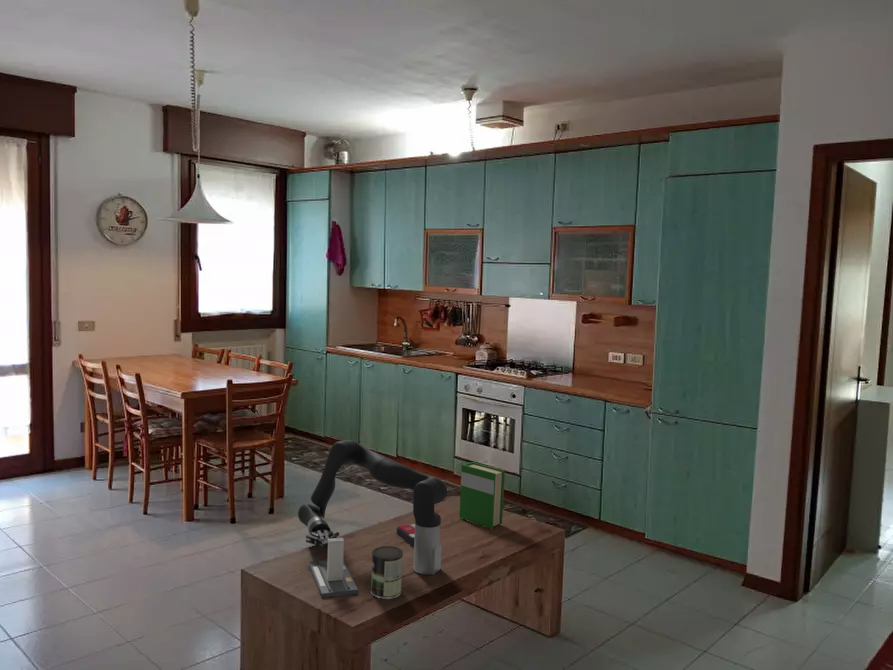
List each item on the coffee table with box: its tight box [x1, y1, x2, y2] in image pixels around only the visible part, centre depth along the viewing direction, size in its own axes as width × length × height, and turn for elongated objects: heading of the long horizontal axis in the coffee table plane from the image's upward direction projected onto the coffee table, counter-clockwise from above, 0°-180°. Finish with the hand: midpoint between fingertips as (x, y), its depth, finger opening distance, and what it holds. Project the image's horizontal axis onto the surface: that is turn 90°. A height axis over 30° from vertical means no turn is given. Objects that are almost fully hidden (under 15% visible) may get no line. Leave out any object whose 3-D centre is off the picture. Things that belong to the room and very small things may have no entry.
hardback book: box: [459, 461, 506, 529], centre depth 313 cm, size 18×7×24 cm, turn 49°
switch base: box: [308, 559, 359, 598], centre depth 252 cm, size 26×12×2 cm, turn 20°
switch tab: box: [327, 537, 345, 581], centre depth 247 cm, size 2×5×14 cm, turn 110°
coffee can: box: [370, 545, 404, 600], centre depth 243 cm, size 10×10×14 cm
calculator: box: [396, 523, 415, 547], centre depth 293 cm, size 11×4×15 cm
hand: (327, 546), depth 261 cm, fingers closed
